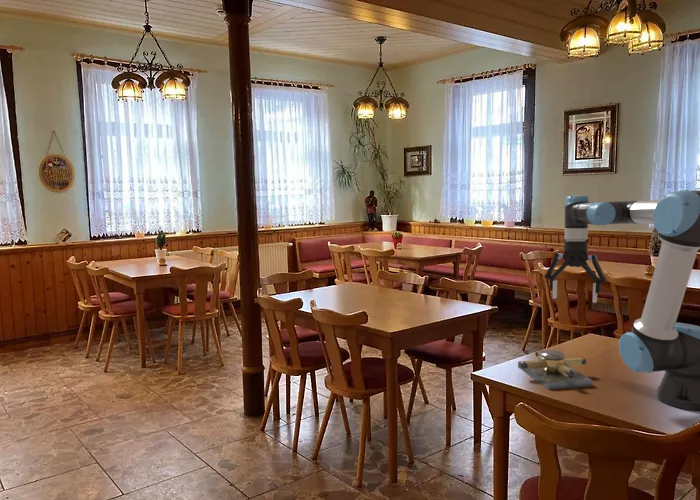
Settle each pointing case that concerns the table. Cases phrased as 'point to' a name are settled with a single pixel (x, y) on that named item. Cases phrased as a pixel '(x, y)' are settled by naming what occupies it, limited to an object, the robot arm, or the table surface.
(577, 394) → the table surface
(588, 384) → the stand
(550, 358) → the capstan
